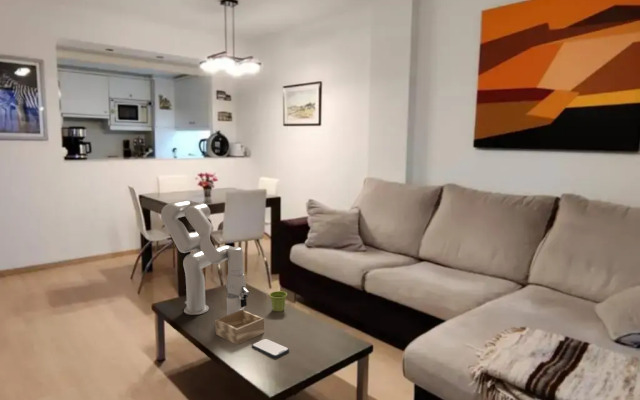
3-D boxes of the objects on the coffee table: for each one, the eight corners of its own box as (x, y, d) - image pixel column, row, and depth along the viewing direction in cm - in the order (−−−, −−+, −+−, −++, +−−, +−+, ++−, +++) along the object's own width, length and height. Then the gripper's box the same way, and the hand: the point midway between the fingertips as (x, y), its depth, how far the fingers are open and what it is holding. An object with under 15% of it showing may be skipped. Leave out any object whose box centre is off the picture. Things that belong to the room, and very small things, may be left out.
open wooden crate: (215, 334, 198) (215, 320, 197) (242, 323, 210) (242, 309, 209) (237, 344, 188) (237, 329, 187) (264, 332, 200) (263, 318, 199)
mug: (229, 322, 211) (229, 299, 209) (225, 317, 216) (224, 295, 215) (248, 318, 216) (248, 295, 214) (243, 313, 222) (243, 291, 220)
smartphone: (250, 348, 186) (275, 359, 176) (250, 344, 186) (275, 356, 175) (265, 341, 193) (290, 352, 182) (265, 337, 193) (290, 348, 182)
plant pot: (290, 308, 228) (290, 293, 227) (279, 314, 221) (279, 298, 219) (277, 305, 233) (276, 290, 232) (266, 310, 226) (265, 295, 224)
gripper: (219, 270, 215) (221, 302, 218) (241, 276, 204) (242, 310, 206) (231, 267, 221) (232, 298, 223) (252, 272, 210) (254, 305, 212)
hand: (237, 304), depth 215 cm, fingers open, 9 cm apart
